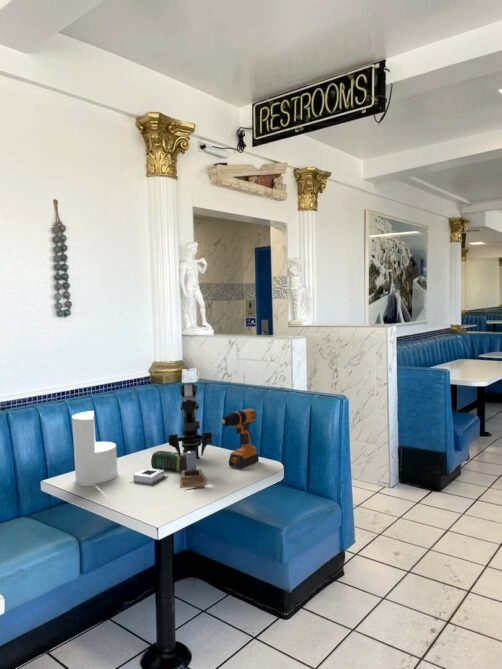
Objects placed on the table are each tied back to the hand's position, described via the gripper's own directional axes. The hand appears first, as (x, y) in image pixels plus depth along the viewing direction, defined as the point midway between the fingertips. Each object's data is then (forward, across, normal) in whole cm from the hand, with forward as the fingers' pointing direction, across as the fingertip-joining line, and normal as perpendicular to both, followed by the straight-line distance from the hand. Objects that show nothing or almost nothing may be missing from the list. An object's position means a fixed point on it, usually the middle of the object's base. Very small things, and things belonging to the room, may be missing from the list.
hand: (191, 456), depth 220 cm
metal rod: (+10, 0, +1) cm, 11 cm away
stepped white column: (+2, -41, +12) cm, 42 cm away
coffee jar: (-7, -16, +15) cm, 23 cm away
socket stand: (+8, -18, +5) cm, 20 cm away
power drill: (0, +22, +14) cm, 26 cm away
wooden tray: (+11, 0, +1) cm, 11 cm away
